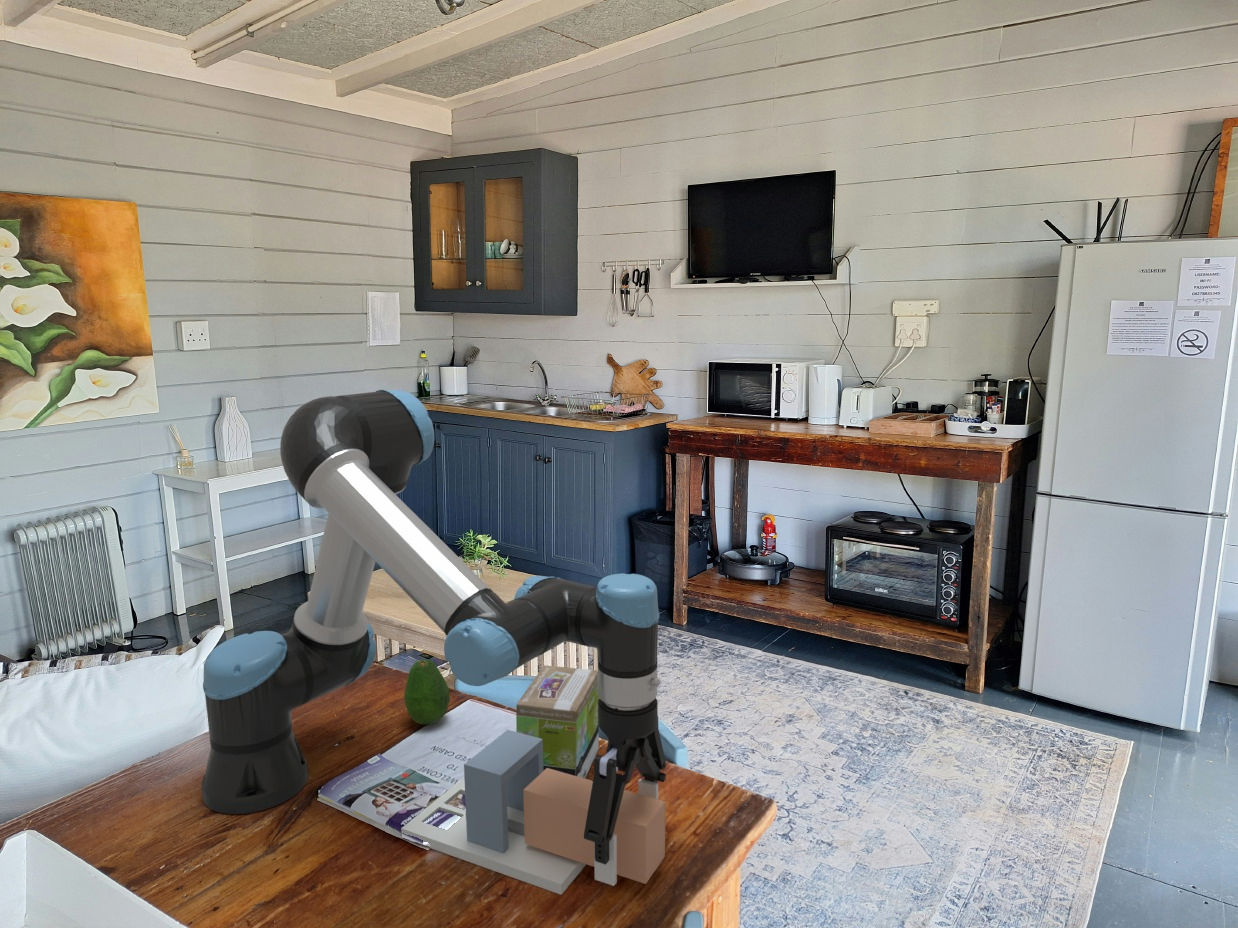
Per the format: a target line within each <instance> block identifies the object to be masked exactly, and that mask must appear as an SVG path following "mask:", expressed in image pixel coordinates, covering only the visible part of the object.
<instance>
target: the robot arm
mask: <svg viewBox="0 0 1238 928" xmlns="http://www.w3.org/2000/svg"><path fill="white" fill-rule="evenodd" d="M426 408H427V407H425V405H424V404H423V402H421V401H420V399H419V398H417V397H416V396H415V395H413V394H412V393H410V392H408V391H405V390H400V389H392V390H388V389H377V390H376V391H372V392H360V393H352V394H343V395H336V396H332V395H331V396H323V397H318V398H313V399H312V400H310V401H308V402H305V403H304V404H303V405H301V406H300V407H298V408H297V409H296V410H295V411H294V412H293V413H292V414H291V416H290V417H289V419H288V420H287V422H286V424H285V425H284V428H283V430H282V434H281V438H280V443H279V444H280V451H279V452H280V459H281V464H282V467H283V471H284V473H285V475H286V477H287V479H288V481H289V483H290V484H291V486H292V487H293V488H294V489H295V491H296V492H297V493H298V495H299V496H301V498H302V499H303V500H305V502H306V503H307V504H308V505H309V506H310V507H311V508H312V507H313V508H315V509H324V510H325V511H326V512H327V513H328V514H327V518H326V522H325V526H324V531H323V535H322V540H321V542H320V548H319V552H318V556H317V560H316V565H315V569H314V573H313V577H312V582H311V587H310V591H309V596H308V599H307V601H305V602H303V603H302V604H300V605H299V606H298V607H297V609H295V610H296V611H295V613H294V616H293V620H292V625H291V627H290V630H289V631H288V632H286V633H283V634H281V633H279V632H276V631H273V630H257V631H253V632H252V633H248V632H246V633H243V634H242V633H241V634H238V635H237V636H234V637H232V638H230V639H227V640H225V641H224V642H223V641H222V643H220V644H218V645H217V646H216V647H214V649H212V650H211V651H210V652H209V653H208V655H207V656H206V659H205V661H204V663H203V682H202V689H203V693H204V698H205V706H206V707H205V708H206V714H207V716H206V717H207V724H208V734H209V735H208V736H209V742H210V743H209V744H210V751H209V754H208V760H207V765H206V769H205V773H204V775H203V778H202V781H201V794H202V801H203V804H204V806H206V807H207V808H208V809H210V810H211V811H214V812H216V813H220V814H226V815H230V814H231V815H240V814H241V815H243V814H250V813H251V814H252V813H257V812H260V811H264V810H268V809H270V808H273V807H276V806H278V805H281V804H283V803H284V802H286V801H288V800H290V799H292V798H294V796H296V795H297V794H298V793H299V792H301V791H302V789H303V788H305V786H306V785H307V782H308V778H309V769H308V762H307V759H306V757H305V755H304V752H303V750H302V748H301V746H300V744H299V742H298V740H297V737H296V736H295V733H294V731H293V722H292V719H293V718H292V711H293V710H294V709H296V708H299V707H301V706H303V705H306V704H307V703H310V702H312V701H315V700H316V699H319V698H321V697H323V696H325V695H327V694H330V693H332V692H334V691H336V690H338V689H341V688H344V687H348V686H349V685H351V684H352V683H354V682H355V681H357V679H359V678H361V677H363V676H364V675H366V673H367V672H368V671H369V670H370V669H371V666H372V665H373V663H374V660H375V657H376V651H377V641H376V640H374V639H373V637H374V636H375V632H374V629H373V627H372V625H371V624H370V622H369V619H368V617H367V616H366V614H365V612H363V610H364V606H365V603H366V598H367V596H368V591H369V587H370V584H371V580H372V575H373V572H374V569H375V565H376V564H377V565H378V566H380V568H381V569H382V570H383V571H384V572H385V573H386V574H387V575H388V576H389V577H390V578H391V579H392V581H394V582H395V583H396V584H397V585H398V587H400V589H402V591H404V593H405V594H406V595H407V596H408V597H409V598H410V599H411V600H412V601H413V602H415V604H416V605H417V606H418V607H419V608H420V609H421V610H422V611H423V612H424V613H425V614H426V615H427V616H428V617H429V618H430V619H431V621H433V623H435V625H436V626H438V628H439V629H441V631H442V632H443V633H444V634H445V636H446V638H445V641H444V644H443V652H444V657H445V661H446V662H448V664H449V665H450V672H451V673H452V674H453V675H454V677H455V678H456V679H458V680H459V681H460V682H462V683H463V684H466V685H467V686H472V687H483V686H485V685H487V684H490V683H493V682H495V681H497V680H500V679H502V678H504V677H507V676H509V675H510V674H512V673H513V672H514V671H515V670H518V668H520V667H522V666H524V665H525V664H527V663H528V662H530V661H532V660H533V659H537V658H538V657H540V656H542V655H543V654H546V653H547V652H549V651H551V650H552V649H554V648H556V647H558V646H560V645H561V644H562V643H571V644H572V643H573V644H576V645H580V646H583V647H588V648H595V649H596V651H597V653H596V655H597V670H598V696H599V700H598V725H599V730H601V732H602V733H603V734H604V735H605V736H606V737H607V739H608V741H607V745H606V750H605V751H606V754H605V755H604V756H603V755H598V754H596V756H595V758H594V760H593V777H592V778H593V780H592V781H593V784H592V790H591V796H590V802H589V807H588V813H587V819H586V825H585V831H584V839H586V840H589V841H593V842H594V861H595V867H594V880H595V881H598V882H602V883H604V884H607V885H610V886H612V887H614V886H615V885H617V881H618V879H617V878H618V877H617V876H618V875H617V835H615V834H613V832H614V828H615V824H616V820H617V816H618V812H619V808H620V805H621V801H622V797H623V793H624V790H626V789H625V788H626V785H627V784H629V783H630V782H631V780H632V775H633V772H634V768H635V767H636V769H637V770H638V772H639V774H640V777H643V778H639V779H638V780H637V794H641V795H645V796H648V797H652V798H655V799H659V783H658V782H661V783H665V781H666V777H667V774H666V773H664V772H661V770H662V771H665V770H666V767H667V762H666V761H667V760H666V757H665V752H664V748H663V743H662V739H661V735H660V730H659V715H658V713H659V712H658V711H659V710H658V708H659V707H658V703H659V702H658V699H657V696H658V687H660V685H661V679H660V678H658V642H659V638H658V637H659V619H660V610H659V605H658V604H659V603H658V588H657V585H656V584H655V582H654V581H653V580H652V579H651V578H649V577H647V576H645V575H642V574H639V573H638V574H637V573H630V574H629V573H615V574H609V575H606V576H604V577H603V578H601V579H600V580H599V582H598V583H597V586H592V585H589V584H585V583H584V584H583V583H581V582H580V583H579V582H577V581H571V580H567V579H564V578H561V577H558V576H557V577H556V576H544V575H533V576H530V577H528V578H526V579H525V580H524V581H523V583H522V585H521V586H519V587H518V588H517V590H516V593H515V595H514V598H513V599H511V600H510V601H508V602H505V601H504V600H502V598H501V597H500V596H499V595H498V594H497V593H496V592H494V591H493V590H492V589H491V588H490V587H489V586H488V585H487V584H486V582H484V581H483V580H482V579H481V577H479V576H478V575H477V574H476V573H475V572H474V571H473V570H472V568H470V567H469V566H468V565H467V564H466V563H465V562H464V561H463V560H462V559H461V558H460V557H459V556H458V555H457V554H456V552H454V551H453V550H452V549H451V548H450V547H449V546H448V545H447V544H446V543H445V542H444V541H443V540H442V539H441V538H440V537H439V536H438V535H437V534H436V533H435V532H434V531H433V530H432V529H431V528H430V527H429V526H428V525H427V524H426V523H425V522H424V521H423V520H422V519H421V518H420V517H419V516H418V515H417V514H416V513H415V512H414V511H413V510H411V508H410V507H409V506H407V505H406V503H405V502H404V501H403V500H402V499H401V498H399V497H398V494H400V493H401V492H403V491H404V490H405V489H406V486H407V485H408V481H409V477H410V473H411V470H412V467H413V466H418V465H420V464H422V463H423V462H425V461H426V460H427V459H429V457H430V456H431V454H432V452H433V449H434V445H435V429H434V426H433V421H432V419H431V418H430V417H429V411H428V409H426ZM617 772H622V773H623V774H620V773H617Z"/></svg>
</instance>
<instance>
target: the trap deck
mask: <svg viewBox="0 0 1238 928" xmlns="http://www.w3.org/2000/svg"><path fill="white" fill-rule="evenodd" d="M463 771H464V772H463V773H464V775H463V776H464V777H463V778H461V779H460V780H459V781H458V782H456V783H455V784H454V785H452V787H450V788H448V790H447V791H445V792H444V793H443V794H441V795H440V796H439V797H438V798H436V799H435V800H434V801H433V802H432V803H430V804H429V805H428V806H427V807H426V808H424V809H423V810H422V811H420V812H419V813H418V814H417V815H416V816H415V817H413V818H412V819H411V820H410V821H408V822H407V823H405V825H404V826H402V827H401V828H400V830H401V834H402V833H404V834H406V835H410V836H414V837H417V838H419V839H421V840H423V841H424V842H428V843H429V844H430V845H431V846H430V848H429V849H432V850H434V851H437V852H440V853H442V854H446V855H448V856H452V857H454V858H456V859H460V860H463V861H466V862H468V863H471V864H473V865H477V866H480V867H481V868H485V869H488V870H490V871H493V872H496V873H499V874H502V875H504V876H508V877H509V878H513V879H515V880H519V881H520V882H521V881H522V882H524V883H527V884H530V885H532V886H535V887H538V888H541V889H544V890H546V891H550V892H553V893H554V894H555V893H556V894H558V895H560V896H561V895H563V894H564V892H565V891H566V890H567V889H568V888H569V886H570V885H571V884H572V883H573V881H574V880H575V879H576V878H577V876H578V875H579V874H580V873H581V872H582V871H583V869H584V868H585V867H586V865H587V864H584V863H581V862H578V861H575V860H572V859H569V858H566V857H563V856H560V855H557V854H554V853H551V852H548V851H545V850H542V849H539V848H536V847H533V846H530V845H527V844H525V834H524V796H523V790H524V789H525V788H526V787H527V786H528V785H529V784H530V783H531V782H532V781H533V780H534V779H536V778H537V777H538V776H539V775H540V774H541V773H542V772H543V739H541V738H537V737H533V736H529V735H526V734H522V733H518V732H516V731H513V730H510V729H506V730H505V731H504V732H503V733H502V734H500V735H499V736H498V737H496V738H495V739H494V740H492V742H490V743H489V744H488V745H486V746H485V747H484V748H482V749H481V750H480V751H479V752H478V753H476V754H475V755H474V756H472V757H471V758H470V759H469V760H467V761H466V762H465V763H464V764H463ZM459 794H464V795H465V803H466V810H463V809H460V808H457V807H454V806H451V805H448V803H449V802H450V801H452V800H453V799H454V798H455V797H457V796H458V795H459ZM438 810H441V811H444V812H447V813H450V814H453V815H457V816H460V817H461V818H460V819H459V820H458V821H457V822H456V823H454V824H453V825H452V826H451V827H450V828H449V829H448V830H445V829H442V828H439V827H436V826H433V825H430V824H427V823H424V821H426V820H427V819H428V818H430V817H431V816H432V815H434V814H435V813H436V812H437V811H438Z"/></svg>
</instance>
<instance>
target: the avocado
mask: <svg viewBox="0 0 1238 928" xmlns="http://www.w3.org/2000/svg"><path fill="white" fill-rule="evenodd" d="M407 676H408V677H407V680H406V684H405V689H404V693H403V695H404V696H403V697H404V705H405V707H406V710H407V713H408V714H409V717H410V718H411V719H412V720H413V721H414V722H416V723H417V724H420V725H422V726H423V725H430V724H433V723H434V724H435V723H436V722H438V721H439V720H441V718H443V717H444V715H445V714H446V713H447V710H448V709H449V704H450V700H451V697H450V688H449V686H448V683H447V681H446V679H445V678H444V676H443V675H442V673H441V671H440V669H439V668H438V666H437V665H436V663H434V662H433V661H432V660H431V659H419V660H417V661H415V663H414V664H413V665H411V668H410V669H409V672H408V675H407Z"/></svg>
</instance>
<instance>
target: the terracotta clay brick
mask: <svg viewBox="0 0 1238 928" xmlns="http://www.w3.org/2000/svg"><path fill="white" fill-rule="evenodd" d="M592 784H593V780H590V779H588V778H585V779H584V778H581V777H577V776H574V775H570V774H567V773H563V772H559V771H556V770H552V769H549V768H546V769H545V770H544V771H543V772H542V773H541V774H540V775H539V776H538V777H537V778H536V779H534V780H533V781H532V782H531V783H530V784H529V785H528V786H527V787H526V788H525V789H524V790H523V796H524V834H525V844H527V845H530V846H533V847H536V848H539V849H542V850H545V851H548V852H551V853H554V854H557V855H560V856H563V857H566V858H569V859H572V860H575V861H578V862H581V863H584V864H586V865H588V866H590V867H594V868H595V861H594V842H593V841H589V840H586V839H584V831H585V825H586V819H587V813H588V807H589V802H590V796H591V790H592ZM613 834H615V835H617V876H621V877H623V878H627V879H630V880H632V881H636V882H639V883H642V884H645V885H646V884H647V883H648V882H649V881H650V878H651V877H652V876H653V875H654V873H655V871H656V870H657V868H658V867H659V865H661V863H662V861H663V860H664V858H666V800H662V799H659V798H658V799H655V798H652V797H648V796H645V795H641V794H638V792H633V791H630V790H627V789H624V793H623V797H622V801H621V805H620V808H619V812H618V816H617V820H616V824H615V828H614V832H613Z"/></svg>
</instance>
